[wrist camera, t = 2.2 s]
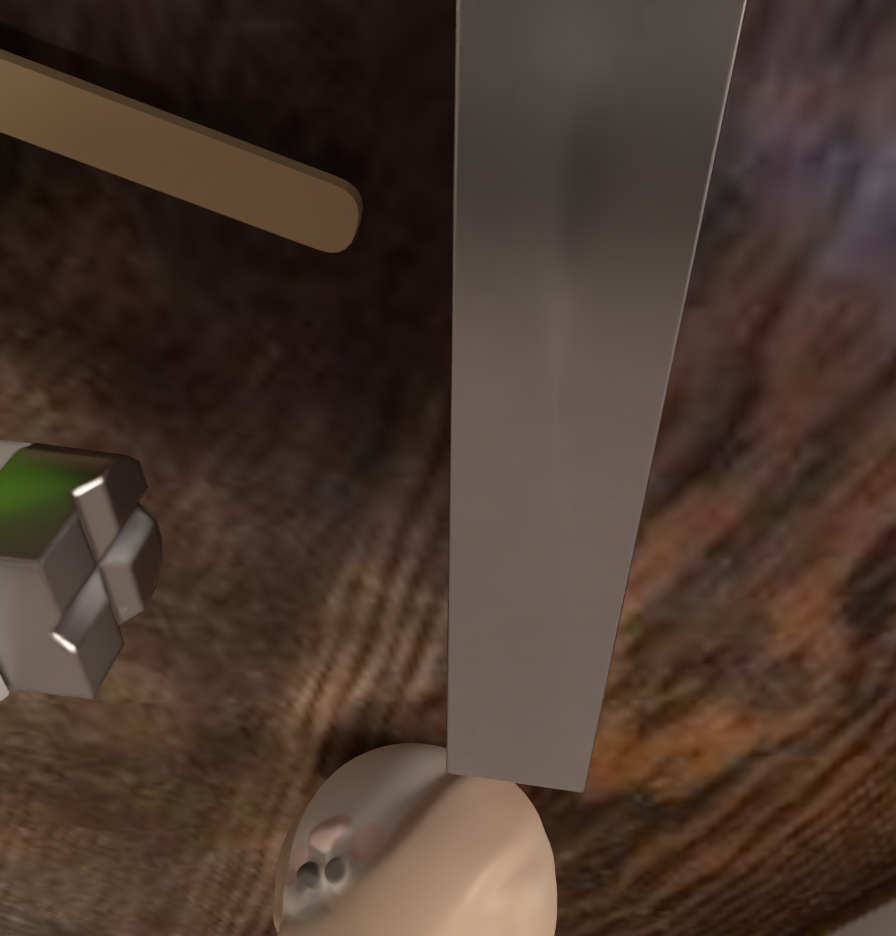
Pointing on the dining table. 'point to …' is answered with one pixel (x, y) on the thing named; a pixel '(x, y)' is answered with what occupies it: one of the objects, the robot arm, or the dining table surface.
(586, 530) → the long grey metal bar
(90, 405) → the dining table surface
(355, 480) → the dining table surface
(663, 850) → the dining table surface
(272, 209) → the popsicle
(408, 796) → the garlic bulb
